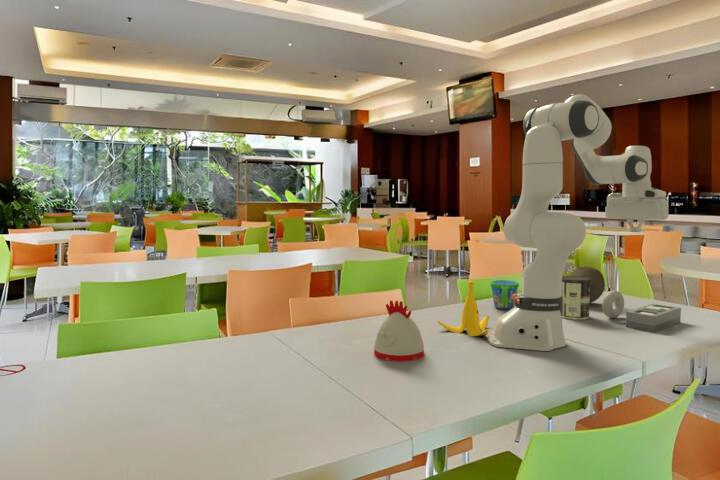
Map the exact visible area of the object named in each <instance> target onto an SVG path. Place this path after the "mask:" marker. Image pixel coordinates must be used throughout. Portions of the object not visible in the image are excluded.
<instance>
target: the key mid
mask: <svg viewBox="0 0 720 480" xmlns="http://www.w3.org/2000/svg"><path fill="white" fill-rule="evenodd" d="M645 310H649V311H655V312H663V308H661V307H654V306H649V307H646V308H645Z"/></svg>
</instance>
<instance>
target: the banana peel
mask: <svg viewBox="0 0 720 480" xmlns="http://www.w3.org/2000/svg"><path fill="white" fill-rule="evenodd" d="M467 284H468V293H467V296H466V299H465V301H464V303H463V304H464V305H463V309H462V315H461V324H460V326H451V325H447V324H446V323H443V322H442V321H440V320H439V319H438V320H437V322H436V323H438V324H439V325H440V326H441V327H443V328H444V329H445V330H447V331H449V332H451V333H453V334H462V333H463V332H465V330H466V333H467V335H468V336H470V337H482V336H483V337H484V336H488V334H489V333H490V330H489V329H486V328H487V326H488V324H489V320H490V317H489V316H488V315H486V316H484V318H483V319H482V320H481V321H480V313H479V307H478V303H477V301H476V298H475V294H474V285H475V281H474V280H473V281H472V280H469V281H467Z"/></svg>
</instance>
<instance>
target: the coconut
mask: <svg viewBox="0 0 720 480" xmlns="http://www.w3.org/2000/svg"><path fill="white" fill-rule="evenodd" d="M569 276H580V277H587V278H590V295H589V304H591V303H593V302H595V301H597V300H598V299H600V297H601V296H602V295H603V294H604V291H605V286H606V285H605V284H606V283H605V278H604V274H603V273H602V272H601V271H600V270H599V269H598V268H595V267H591V266H580V267H577V268H576V269H574V270H573V271H572V272H571V274H570V275H569Z"/></svg>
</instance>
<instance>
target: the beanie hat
mask: <svg viewBox="0 0 720 480" xmlns="http://www.w3.org/2000/svg"><path fill="white" fill-rule="evenodd" d="M385 307H386V310H387V312H388V316H386V317H385V319H384V320H383V322H382V323H381V325H380V326H379V329H378V332H377V334H376V338H375V341H374V348H373V349H374V350H373V351H374V352H373V353H374V356H375V357H377V359H378V358H379V359H380V360H384V361H390V362H409V361H417V360H419V359H421V358H423V357H424V356H425V355H424V354H425V348H424V341H423V337H422V334H421V331H420V329H419V327H418V325H417V323H416V322H415V321H414V319H413V318H412V317H411V315H412V310H409V311H408V312H407V309H408V305H405V306H404V304H403V301H402V300H401V301H398V300H395V302H393V300H389V304H388V303H386V304H385Z"/></svg>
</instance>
